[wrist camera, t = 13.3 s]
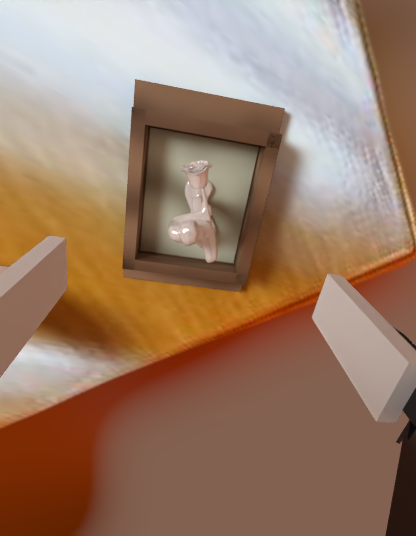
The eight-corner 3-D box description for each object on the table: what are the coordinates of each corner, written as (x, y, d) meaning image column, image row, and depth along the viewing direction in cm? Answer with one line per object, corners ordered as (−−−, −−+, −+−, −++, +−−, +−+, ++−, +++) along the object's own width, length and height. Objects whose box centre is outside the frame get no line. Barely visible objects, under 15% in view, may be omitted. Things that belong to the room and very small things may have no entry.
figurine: (187, 247, 34) (184, 303, 24) (159, 164, 31) (141, 184, 20) (228, 236, 34) (245, 287, 23) (206, 150, 30) (214, 163, 19)
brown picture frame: (137, 80, 29) (130, 75, 25) (281, 109, 30) (292, 107, 27) (125, 273, 37) (118, 287, 34) (239, 288, 38) (244, 302, 35)
